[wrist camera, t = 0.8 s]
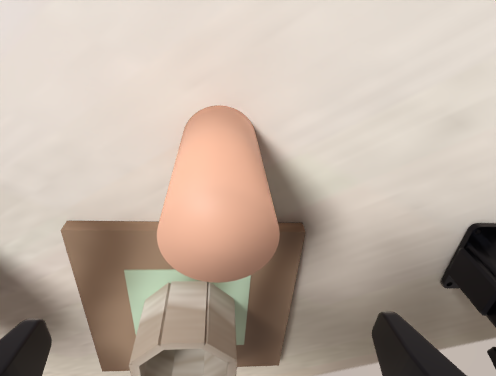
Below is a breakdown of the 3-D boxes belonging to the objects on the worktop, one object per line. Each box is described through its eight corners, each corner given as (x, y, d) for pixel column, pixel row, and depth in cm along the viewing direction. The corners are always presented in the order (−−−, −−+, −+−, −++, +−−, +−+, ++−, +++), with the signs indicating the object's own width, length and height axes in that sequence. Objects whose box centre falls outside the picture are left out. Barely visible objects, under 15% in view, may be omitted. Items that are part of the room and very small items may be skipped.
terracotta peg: (259, 107, 18) (287, 188, 11) (253, 174, 21) (273, 282, 13) (181, 103, 18) (151, 185, 10) (183, 173, 20) (161, 283, 12)
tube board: (302, 222, 23) (325, 288, 18) (277, 355, 31) (288, 426, 26) (67, 220, 21) (18, 292, 16) (105, 360, 30) (81, 437, 24)
